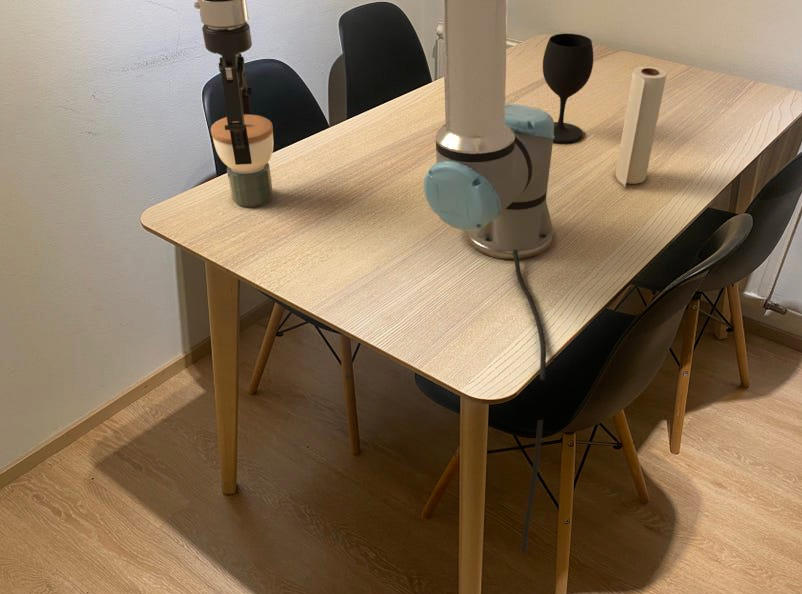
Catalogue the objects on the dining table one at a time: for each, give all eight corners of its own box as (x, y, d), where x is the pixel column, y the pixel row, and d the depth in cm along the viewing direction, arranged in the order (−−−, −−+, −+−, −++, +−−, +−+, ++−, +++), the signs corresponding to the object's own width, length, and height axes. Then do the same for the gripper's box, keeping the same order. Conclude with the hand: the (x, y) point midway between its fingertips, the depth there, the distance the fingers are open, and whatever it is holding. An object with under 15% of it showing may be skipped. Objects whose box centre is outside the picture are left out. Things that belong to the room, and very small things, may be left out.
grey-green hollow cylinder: (273, 207, 143) (268, 175, 139) (231, 209, 142) (225, 177, 138) (273, 187, 149) (269, 156, 144) (233, 190, 147) (227, 158, 143)
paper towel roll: (631, 168, 158) (650, 63, 144) (651, 180, 154) (674, 73, 140) (604, 176, 155) (622, 69, 141) (624, 188, 151) (645, 80, 137)
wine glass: (528, 126, 173) (537, 34, 160) (571, 121, 175) (583, 30, 162) (546, 145, 165) (557, 50, 152) (590, 140, 168) (604, 46, 155)
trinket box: (219, 183, 136) (209, 132, 130) (216, 156, 144) (207, 108, 138) (280, 176, 138) (274, 126, 132) (274, 151, 146) (268, 103, 140)
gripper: (207, 2, 134) (227, 119, 147) (195, 49, 115) (219, 179, 129) (251, 0, 135) (267, 117, 148) (246, 48, 116) (265, 177, 130)
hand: (245, 146), depth 138 cm, fingers open, 13 cm apart
